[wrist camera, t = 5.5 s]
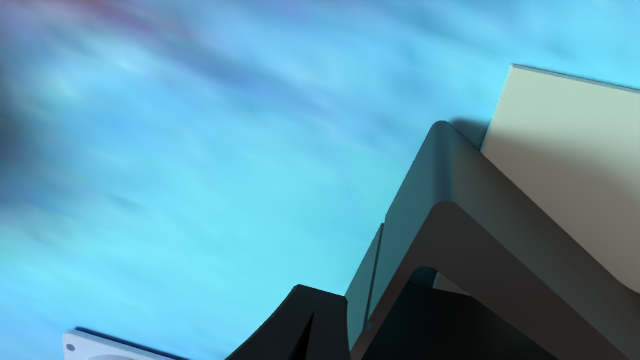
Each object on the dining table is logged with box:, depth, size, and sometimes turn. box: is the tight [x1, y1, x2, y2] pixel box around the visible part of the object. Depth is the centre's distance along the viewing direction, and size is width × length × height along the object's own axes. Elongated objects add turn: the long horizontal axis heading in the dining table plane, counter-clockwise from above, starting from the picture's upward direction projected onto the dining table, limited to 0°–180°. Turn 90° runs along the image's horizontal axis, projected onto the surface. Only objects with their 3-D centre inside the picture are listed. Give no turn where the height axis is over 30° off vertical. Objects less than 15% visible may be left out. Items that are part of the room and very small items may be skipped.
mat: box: [432, 64, 640, 296], centre depth 18 cm, size 14×14×1 cm
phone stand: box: [344, 121, 640, 360], centre depth 16 cm, size 9×6×12 cm
